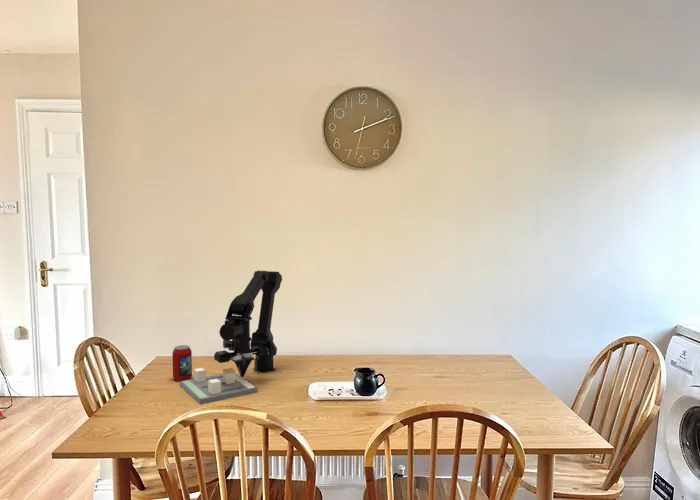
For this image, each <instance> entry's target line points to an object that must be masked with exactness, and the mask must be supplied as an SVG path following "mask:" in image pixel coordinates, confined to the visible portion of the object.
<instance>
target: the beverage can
mask: <svg viewBox="0 0 700 500" xmlns="http://www.w3.org/2000/svg"><path fill="white" fill-rule="evenodd" d="M190 347H191V346H190V345H187V344H186V345H184V344H183V345H182V344H181V345H176V346H175V347H174V348H173V350H172V379H174V380H175V381H177V382H180V381H185V380H190V379H192V377H193V365H192V364H193V362H192V361H193V360H192V359H193V357H192V355H193V354H192V352H193V351H192V349H191V348H190Z"/></svg>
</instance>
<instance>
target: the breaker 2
mask: <svg viewBox="0 0 700 500" xmlns="http://www.w3.org/2000/svg"><path fill="white" fill-rule="evenodd" d="M208 392H209V393H210V394H211V395H214V394H219V393H221V381H219V380H218V379H212V380H208Z"/></svg>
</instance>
